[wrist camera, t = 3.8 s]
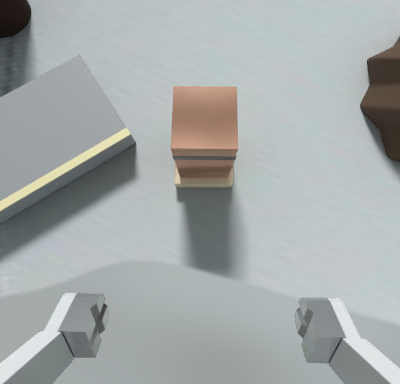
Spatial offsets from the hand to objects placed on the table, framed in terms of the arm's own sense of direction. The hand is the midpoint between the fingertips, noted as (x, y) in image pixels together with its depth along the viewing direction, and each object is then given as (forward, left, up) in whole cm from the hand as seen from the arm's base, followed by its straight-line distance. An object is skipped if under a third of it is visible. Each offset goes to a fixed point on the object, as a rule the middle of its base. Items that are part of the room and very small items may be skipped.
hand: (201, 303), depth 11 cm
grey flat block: (-7, +20, -14) cm, 25 cm away
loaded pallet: (+6, +9, -14) cm, 18 cm away
